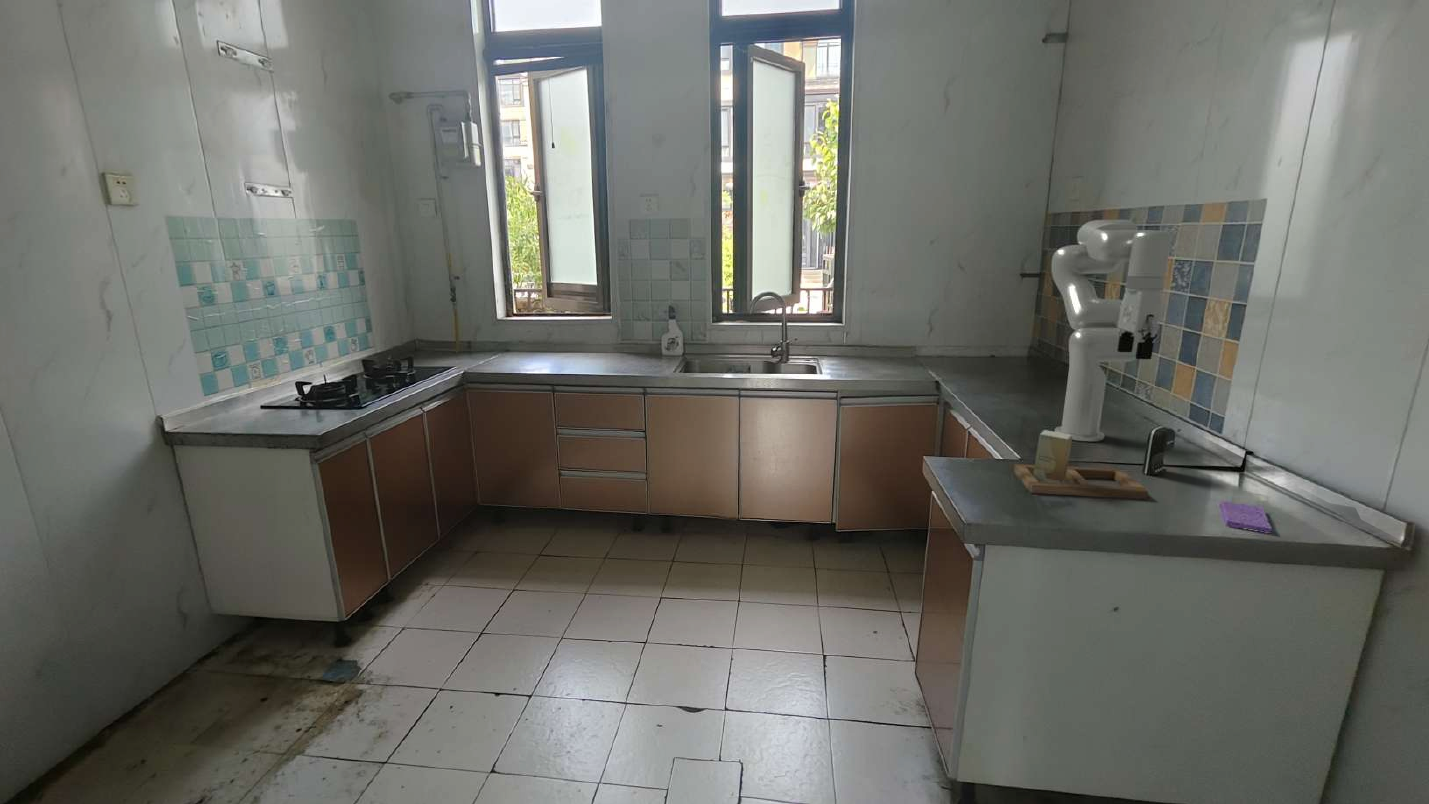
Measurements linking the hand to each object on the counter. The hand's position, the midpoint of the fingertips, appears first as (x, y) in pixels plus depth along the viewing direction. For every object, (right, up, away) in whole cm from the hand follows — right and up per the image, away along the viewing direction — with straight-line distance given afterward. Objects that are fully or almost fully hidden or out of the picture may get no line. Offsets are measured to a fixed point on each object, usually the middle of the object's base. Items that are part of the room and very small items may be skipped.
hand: (1133, 355), depth 154 cm
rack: (-17, -31, -6) cm, 36 cm away
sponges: (+6, -36, -24) cm, 44 cm away
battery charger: (+6, -29, +1) cm, 30 cm away
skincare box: (-23, -31, -5) cm, 39 cm away
